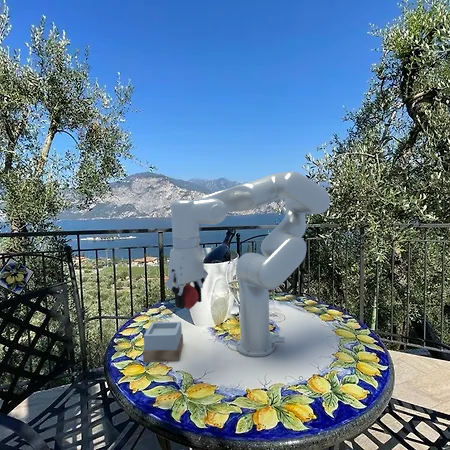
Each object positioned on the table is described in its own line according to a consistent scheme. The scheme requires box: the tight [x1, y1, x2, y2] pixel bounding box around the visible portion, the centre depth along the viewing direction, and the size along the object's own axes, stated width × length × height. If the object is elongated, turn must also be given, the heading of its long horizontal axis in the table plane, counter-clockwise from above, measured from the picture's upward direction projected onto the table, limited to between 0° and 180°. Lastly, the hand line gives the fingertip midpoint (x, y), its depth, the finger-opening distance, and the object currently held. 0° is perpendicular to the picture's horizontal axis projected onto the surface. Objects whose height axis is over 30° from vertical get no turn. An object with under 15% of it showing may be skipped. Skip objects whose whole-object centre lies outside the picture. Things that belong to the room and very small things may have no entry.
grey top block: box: [143, 321, 183, 351], centre depth 100 cm, size 10×10×5 cm
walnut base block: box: [142, 333, 184, 364], centre depth 101 cm, size 11×11×4 cm
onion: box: [182, 283, 199, 310], centre depth 90 cm, size 6×6×8 cm
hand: (188, 303), depth 90 cm, fingers closed on onion, 5 cm apart
